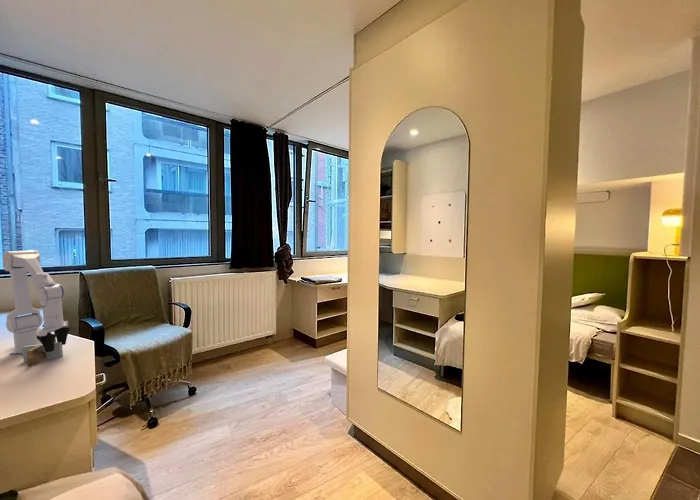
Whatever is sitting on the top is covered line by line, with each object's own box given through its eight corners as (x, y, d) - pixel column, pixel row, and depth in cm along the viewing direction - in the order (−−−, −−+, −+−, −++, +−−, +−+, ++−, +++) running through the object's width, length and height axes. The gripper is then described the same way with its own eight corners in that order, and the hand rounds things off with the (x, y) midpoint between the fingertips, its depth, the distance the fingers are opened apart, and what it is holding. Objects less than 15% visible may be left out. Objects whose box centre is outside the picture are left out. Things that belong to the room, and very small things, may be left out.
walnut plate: (52, 352, 129) (51, 339, 129) (56, 352, 130) (55, 338, 129) (28, 366, 116) (26, 351, 116) (33, 365, 116) (31, 350, 116)
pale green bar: (26, 360, 122) (25, 345, 122) (63, 356, 125) (61, 341, 125) (23, 361, 120) (22, 347, 120) (60, 357, 124) (59, 343, 123)
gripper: (53, 318, 117) (56, 353, 118) (75, 310, 131) (78, 340, 132) (30, 320, 115) (33, 355, 116) (55, 311, 129) (58, 342, 130)
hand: (56, 348), depth 124 cm, fingers open, 7 cm apart
